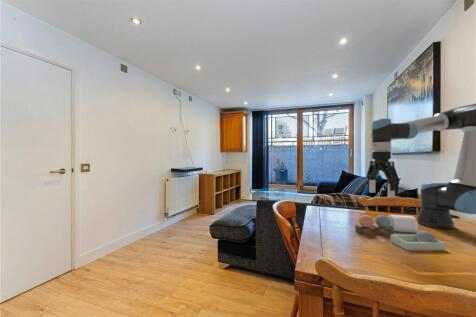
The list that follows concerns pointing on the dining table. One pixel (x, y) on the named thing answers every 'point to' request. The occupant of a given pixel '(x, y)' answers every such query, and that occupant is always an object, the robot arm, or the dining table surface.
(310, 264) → the dining table surface
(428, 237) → the grey ball
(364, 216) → the ball terracotta
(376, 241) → the pair card
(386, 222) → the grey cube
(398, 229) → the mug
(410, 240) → the trough
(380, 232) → the rail
